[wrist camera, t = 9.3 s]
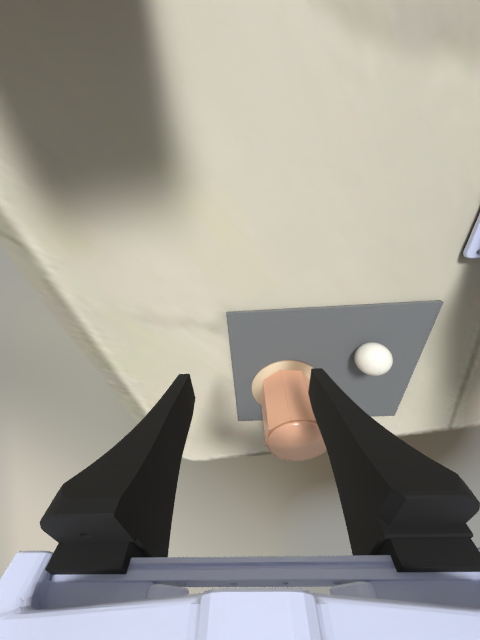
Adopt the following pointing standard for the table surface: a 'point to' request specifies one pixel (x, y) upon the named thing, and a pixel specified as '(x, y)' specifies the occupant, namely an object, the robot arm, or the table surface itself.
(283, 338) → the placemat
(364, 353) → the ball
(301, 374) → the cup
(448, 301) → the table surface
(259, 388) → the coaster
